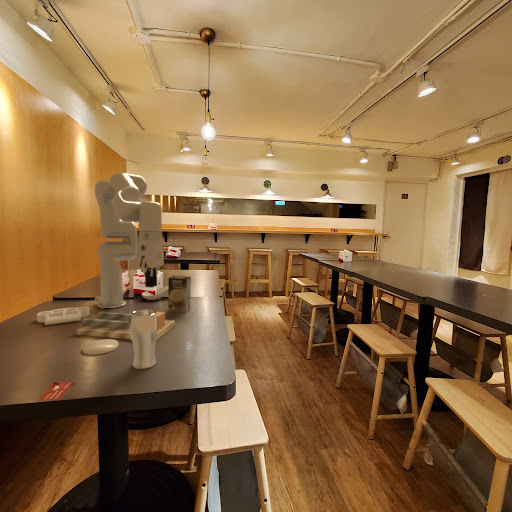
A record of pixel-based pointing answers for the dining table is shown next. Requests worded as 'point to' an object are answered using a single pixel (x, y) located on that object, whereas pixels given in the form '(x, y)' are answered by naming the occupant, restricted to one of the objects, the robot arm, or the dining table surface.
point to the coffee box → (179, 293)
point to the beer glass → (143, 337)
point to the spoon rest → (158, 294)
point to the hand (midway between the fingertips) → (151, 286)
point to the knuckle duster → (62, 315)
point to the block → (160, 319)
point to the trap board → (115, 326)
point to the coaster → (100, 347)
